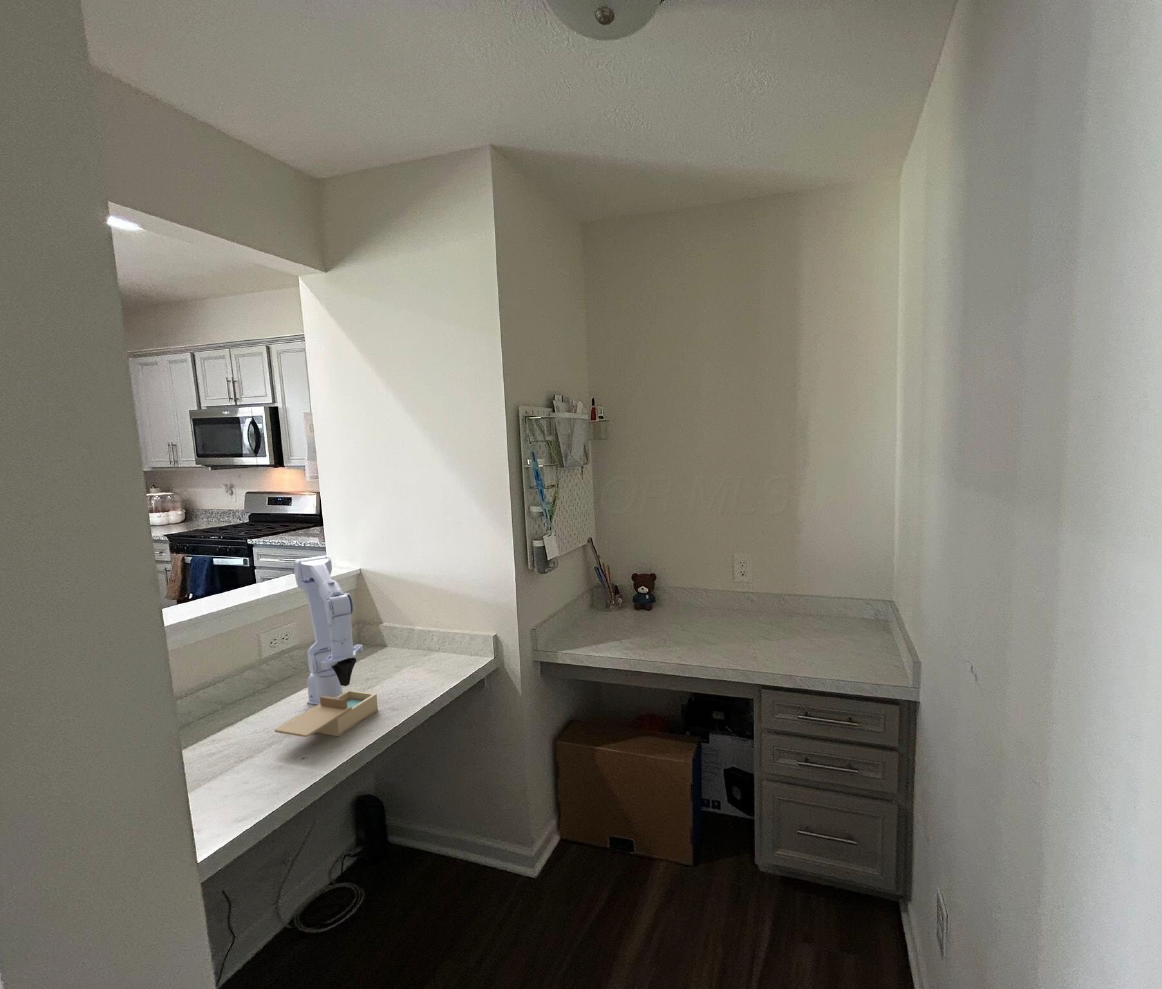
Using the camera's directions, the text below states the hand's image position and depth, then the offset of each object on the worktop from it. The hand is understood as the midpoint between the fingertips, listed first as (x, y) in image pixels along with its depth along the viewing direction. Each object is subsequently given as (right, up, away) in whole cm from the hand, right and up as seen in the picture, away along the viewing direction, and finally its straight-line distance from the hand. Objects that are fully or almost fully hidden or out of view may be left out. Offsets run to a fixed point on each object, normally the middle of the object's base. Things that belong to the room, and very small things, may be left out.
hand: (345, 684), depth 176 cm
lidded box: (0, -10, 0) cm, 10 cm away
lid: (-4, -6, -11) cm, 13 cm away
